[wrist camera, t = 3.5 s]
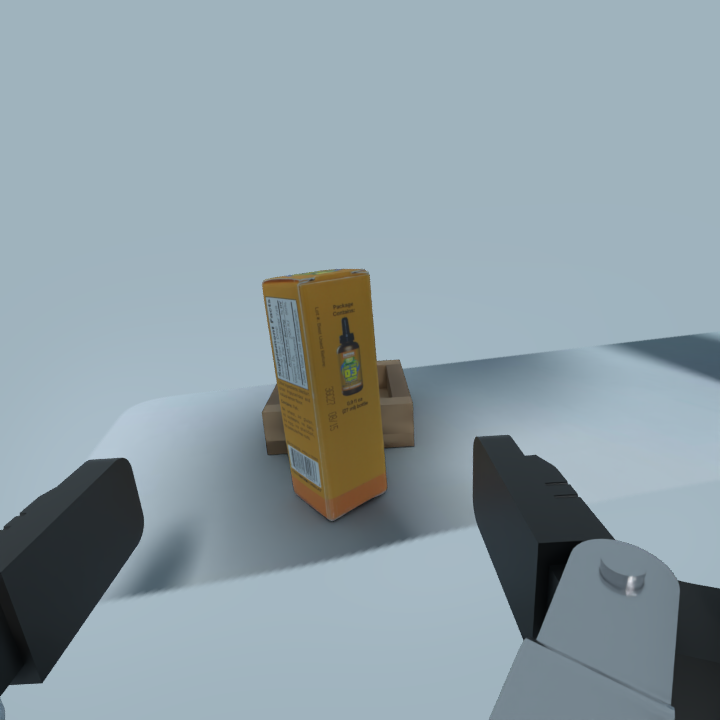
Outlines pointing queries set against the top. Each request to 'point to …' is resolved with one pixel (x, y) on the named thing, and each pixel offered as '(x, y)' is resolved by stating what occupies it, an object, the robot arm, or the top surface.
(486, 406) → the top surface
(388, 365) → the tray
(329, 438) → the supplement box
